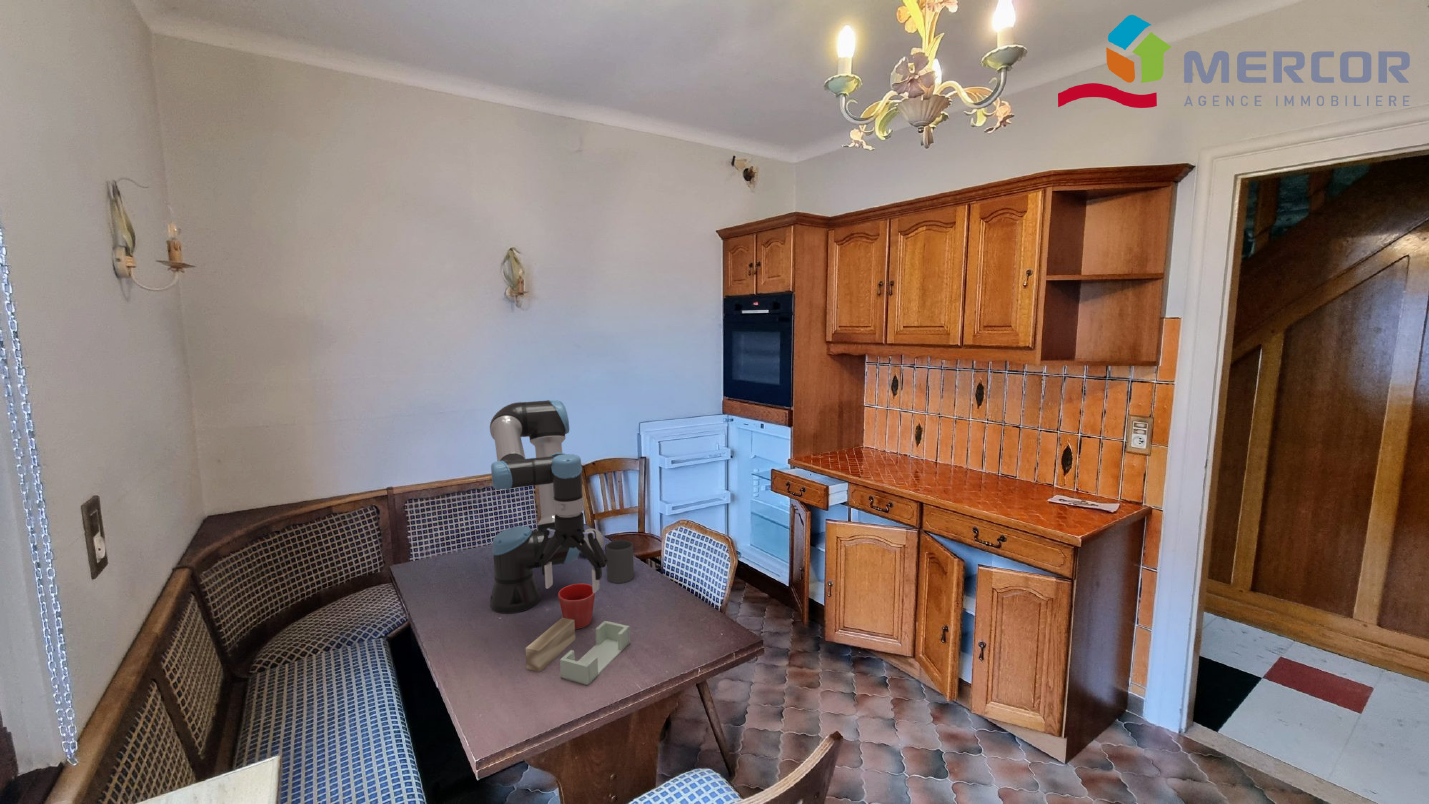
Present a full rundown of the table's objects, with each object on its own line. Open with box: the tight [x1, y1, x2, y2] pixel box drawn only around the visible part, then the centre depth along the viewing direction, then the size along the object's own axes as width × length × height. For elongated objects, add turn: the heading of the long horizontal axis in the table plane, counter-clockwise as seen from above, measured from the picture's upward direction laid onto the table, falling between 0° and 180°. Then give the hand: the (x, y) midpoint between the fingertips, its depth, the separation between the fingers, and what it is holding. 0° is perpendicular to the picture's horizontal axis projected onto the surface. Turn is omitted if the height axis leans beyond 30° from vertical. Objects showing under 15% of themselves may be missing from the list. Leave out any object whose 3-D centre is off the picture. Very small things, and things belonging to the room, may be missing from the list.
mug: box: [604, 539, 635, 584], centre depth 200 cm, size 14×9×12 cm
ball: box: [579, 528, 605, 554], centre depth 218 cm, size 10×10×10 cm
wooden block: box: [525, 617, 576, 673], centre depth 154 cm, size 4×16×6 cm, turn 160°
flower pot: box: [557, 583, 596, 630], centre depth 169 cm, size 11×11×10 cm
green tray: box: [559, 620, 631, 686], centre depth 151 cm, size 8×20×5 cm, turn 158°
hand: (572, 588), depth 156 cm, fingers open, 13 cm apart
